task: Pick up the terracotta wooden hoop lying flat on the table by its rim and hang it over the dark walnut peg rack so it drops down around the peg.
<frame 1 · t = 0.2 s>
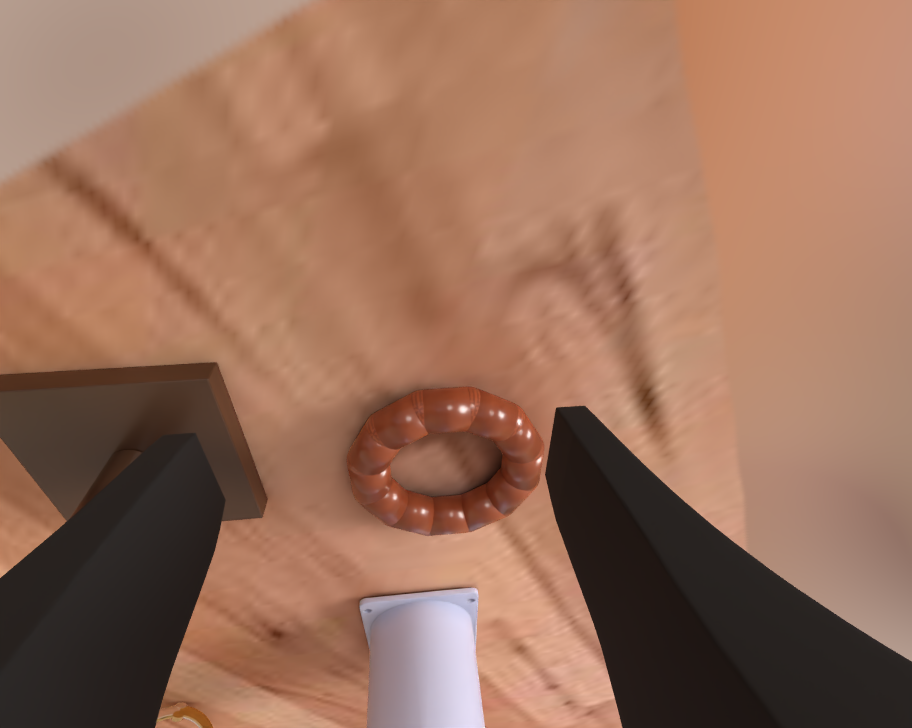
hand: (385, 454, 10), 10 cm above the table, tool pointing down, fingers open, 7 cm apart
hoop: (447, 467, 23), point 1 cm above the table
rack: (146, 445, 22), on the table
ring: (182, 701, 38), on the table
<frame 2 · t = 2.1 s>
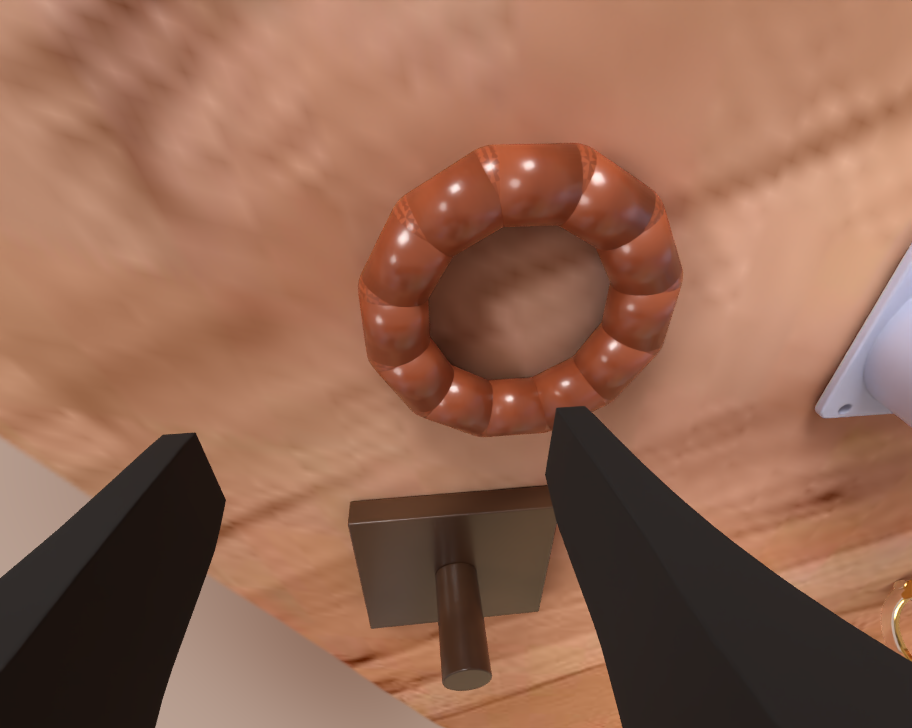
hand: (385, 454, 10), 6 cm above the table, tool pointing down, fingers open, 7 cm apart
hoop: (519, 313, 14), point 1 cm above the table
rack: (453, 551, 23), on the table
ring: (898, 579, 31), on the table
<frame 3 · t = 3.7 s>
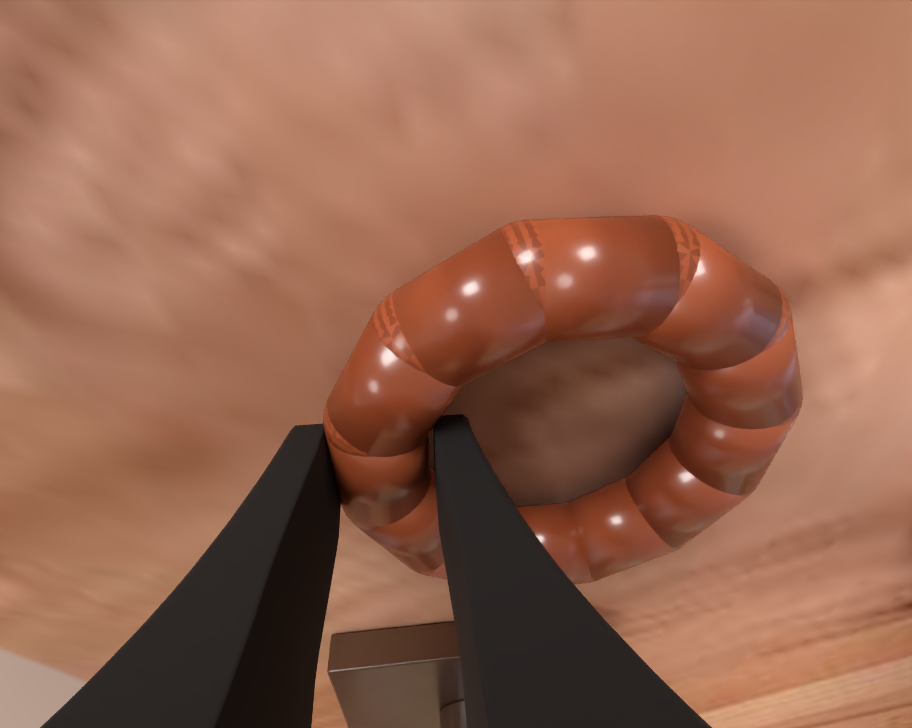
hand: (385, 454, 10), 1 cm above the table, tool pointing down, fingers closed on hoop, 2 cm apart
hoop: (559, 441, 10), point 1 cm above the table, touching gripper
rack: (461, 674, 19), on the table
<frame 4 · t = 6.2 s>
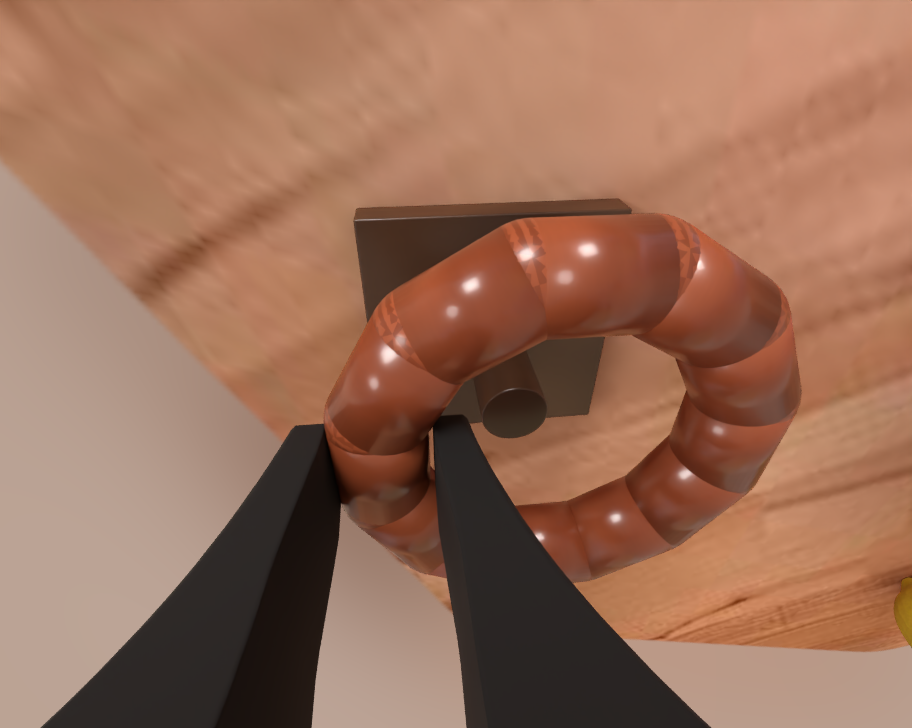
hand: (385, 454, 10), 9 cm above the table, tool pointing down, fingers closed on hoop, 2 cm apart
hoop: (559, 439, 10), point 9 cm above the table, touching gripper
rack: (486, 317, 19), on the table
lemon: (902, 576, 36), on the table
when the fingers open (3 cm above the table, at t = 8.5 s): hoop stays where it is, resting on rack.
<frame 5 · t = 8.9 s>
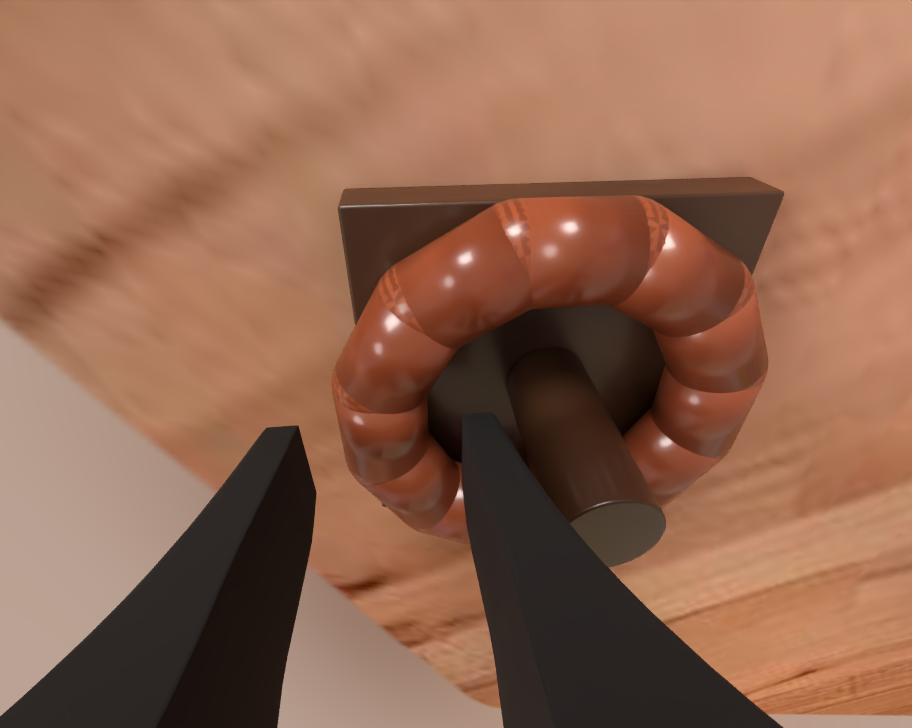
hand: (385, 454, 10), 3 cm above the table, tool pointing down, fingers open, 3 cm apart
hoop: (547, 407, 11), point 2 cm above the table, touching rack
rack: (534, 353, 13), on the table
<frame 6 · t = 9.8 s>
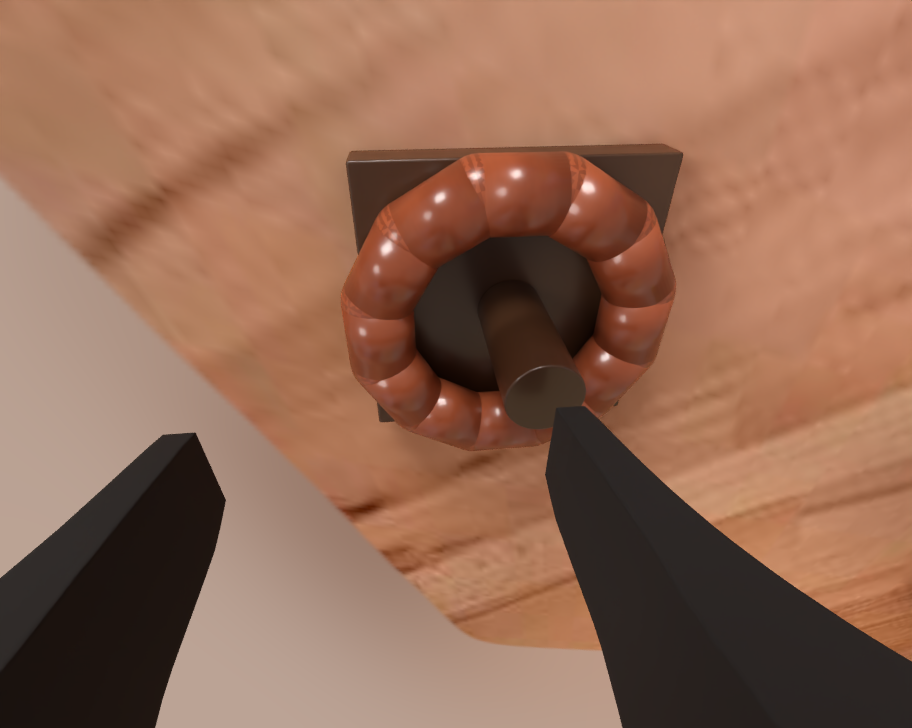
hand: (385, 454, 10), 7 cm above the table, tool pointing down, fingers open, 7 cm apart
hoop: (508, 325, 14), point 2 cm above the table, touching rack
rack: (502, 291, 16), on the table
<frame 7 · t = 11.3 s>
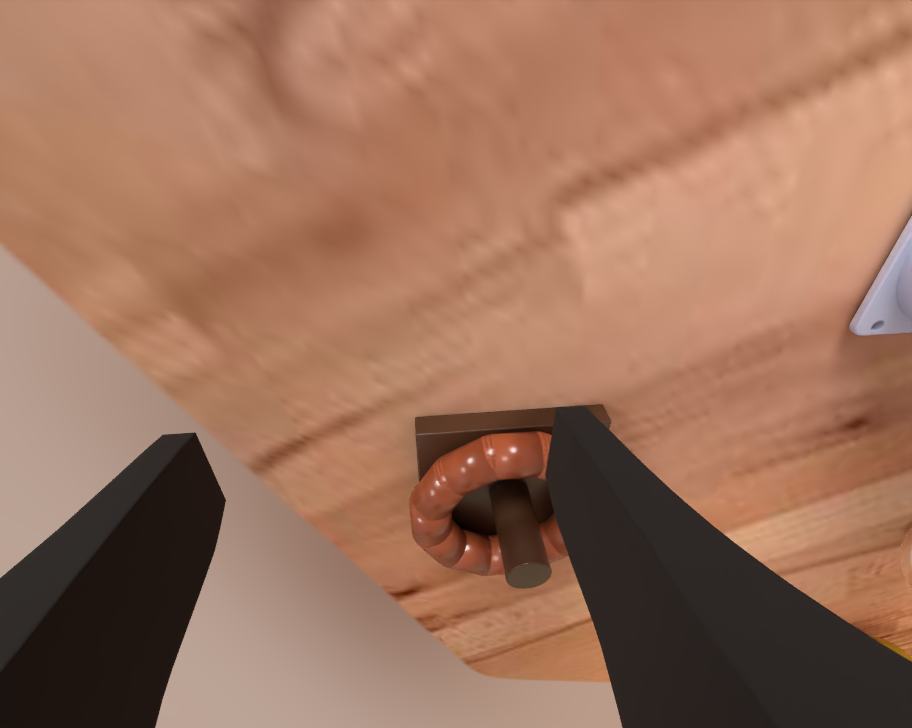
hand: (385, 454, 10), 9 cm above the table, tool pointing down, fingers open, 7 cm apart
hoop: (508, 509, 23), point 2 cm above the table, touching rack
rack: (504, 474, 25), on the table
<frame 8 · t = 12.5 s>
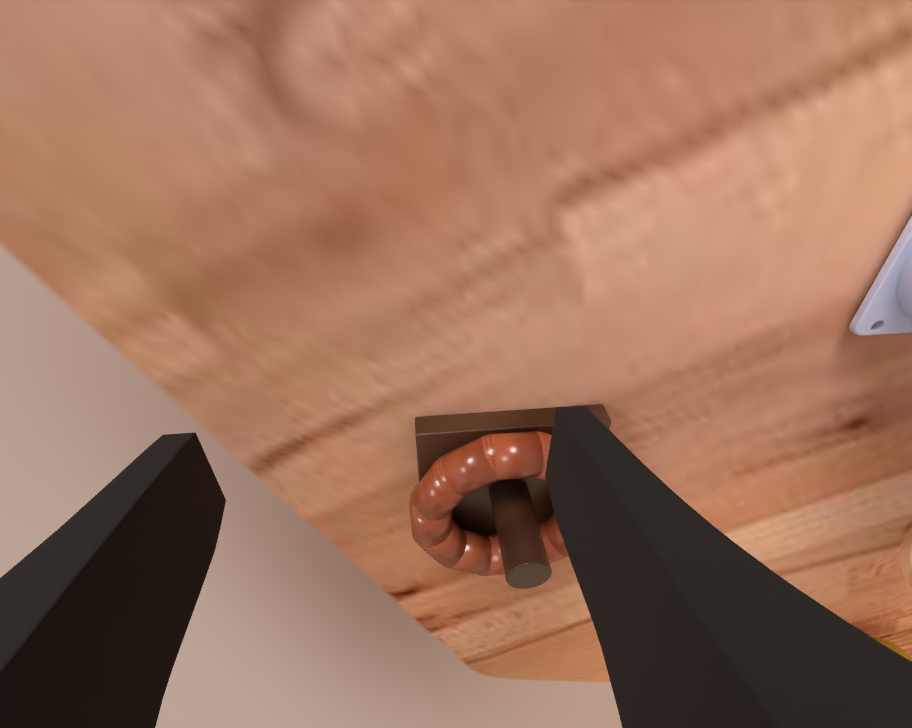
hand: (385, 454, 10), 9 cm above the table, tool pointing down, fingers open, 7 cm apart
hoop: (508, 509, 23), point 2 cm above the table, touching rack
rack: (504, 474, 25), on the table
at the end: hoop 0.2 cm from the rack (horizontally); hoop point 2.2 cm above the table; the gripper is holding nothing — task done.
